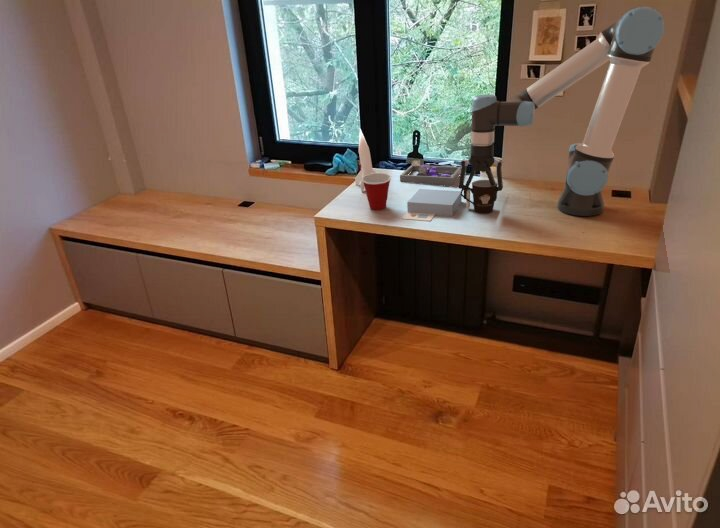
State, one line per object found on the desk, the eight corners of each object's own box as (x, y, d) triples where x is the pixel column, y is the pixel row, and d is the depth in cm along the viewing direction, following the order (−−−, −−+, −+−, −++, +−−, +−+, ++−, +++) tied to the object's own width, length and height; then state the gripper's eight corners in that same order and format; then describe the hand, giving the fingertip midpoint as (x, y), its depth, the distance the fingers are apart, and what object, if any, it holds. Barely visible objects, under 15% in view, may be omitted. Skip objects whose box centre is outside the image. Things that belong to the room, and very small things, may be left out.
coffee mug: (499, 208, 185) (501, 181, 180) (491, 216, 178) (492, 188, 174) (468, 204, 190) (469, 177, 186) (459, 211, 184) (459, 184, 180)
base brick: (461, 201, 194) (461, 191, 192) (452, 216, 180) (452, 205, 179) (419, 198, 199) (419, 188, 198) (407, 212, 186) (407, 202, 184)
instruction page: (435, 214, 183) (435, 213, 183) (430, 221, 177) (430, 220, 177) (408, 212, 186) (407, 211, 186) (402, 218, 181) (402, 218, 181)
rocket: (356, 187, 216) (345, 128, 206) (377, 181, 218) (368, 123, 207) (361, 193, 208) (350, 132, 197) (384, 187, 209) (374, 127, 198)
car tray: (461, 176, 224) (461, 167, 222) (452, 187, 210) (452, 178, 208) (411, 173, 232) (411, 165, 230) (400, 184, 218) (399, 175, 216)
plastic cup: (359, 213, 189) (357, 180, 184) (367, 203, 198) (365, 172, 193) (389, 214, 186) (388, 181, 181) (395, 204, 195) (394, 173, 190)
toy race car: (450, 186, 213) (450, 170, 211) (415, 183, 219) (415, 168, 217) (456, 179, 221) (456, 164, 218) (422, 177, 227) (422, 162, 224)
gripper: (515, 141, 174) (510, 207, 184) (454, 140, 181) (453, 203, 191) (512, 146, 168) (508, 214, 177) (449, 145, 175) (448, 209, 184)
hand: (479, 208), depth 184 cm, fingers closed on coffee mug, 7 cm apart
